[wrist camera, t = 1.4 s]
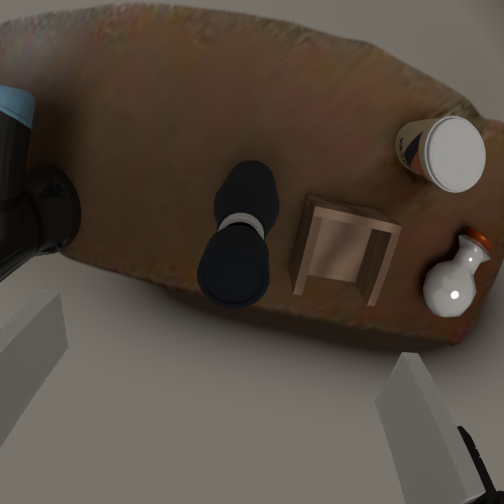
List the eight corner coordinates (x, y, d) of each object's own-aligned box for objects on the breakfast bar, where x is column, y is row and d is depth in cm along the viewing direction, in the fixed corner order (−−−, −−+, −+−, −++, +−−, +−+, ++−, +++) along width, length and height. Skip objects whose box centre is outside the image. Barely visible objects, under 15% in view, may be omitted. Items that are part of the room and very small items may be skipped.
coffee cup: (378, 132, 41) (414, 136, 30) (425, 106, 39) (470, 104, 28) (406, 187, 44) (445, 207, 33) (450, 160, 42) (495, 172, 31)
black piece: (283, 183, 45) (319, 280, 17) (251, 213, 47) (234, 347, 19) (251, 150, 43) (231, 192, 15) (219, 182, 45) (149, 276, 17)
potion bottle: (411, 295, 52) (453, 224, 49) (451, 325, 48) (494, 254, 45) (410, 299, 44) (460, 215, 41) (457, 335, 40) (508, 251, 37)
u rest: (289, 269, 50) (293, 293, 42) (307, 193, 45) (315, 206, 38) (360, 282, 50) (374, 306, 43) (382, 211, 46) (402, 226, 39)
